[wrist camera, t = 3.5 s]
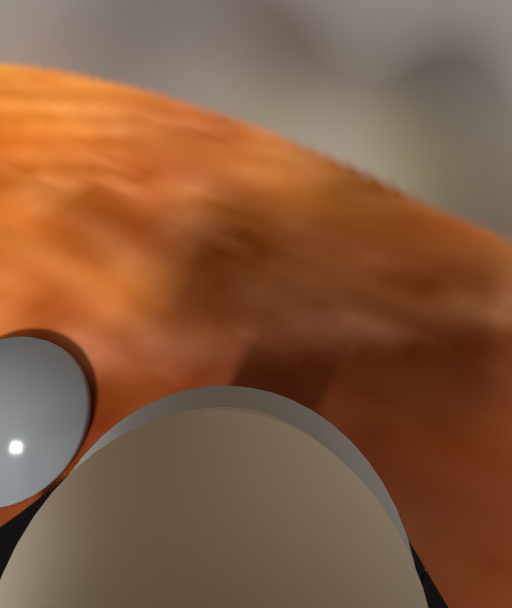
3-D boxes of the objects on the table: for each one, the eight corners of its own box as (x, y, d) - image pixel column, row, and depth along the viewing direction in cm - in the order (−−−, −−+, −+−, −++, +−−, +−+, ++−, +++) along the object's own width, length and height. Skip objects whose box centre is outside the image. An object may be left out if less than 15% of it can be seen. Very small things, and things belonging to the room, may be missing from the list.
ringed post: (229, 521, 15) (42, 1288, 2) (183, 421, 16) (-110, 533, 3) (321, 464, 15) (598, 801, 3) (269, 372, 16) (295, 308, 4)
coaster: (-45, 539, 15) (-55, 545, 14) (-83, 384, 17) (-94, 384, 16) (115, 448, 16) (110, 450, 15) (60, 312, 17) (55, 309, 17)
